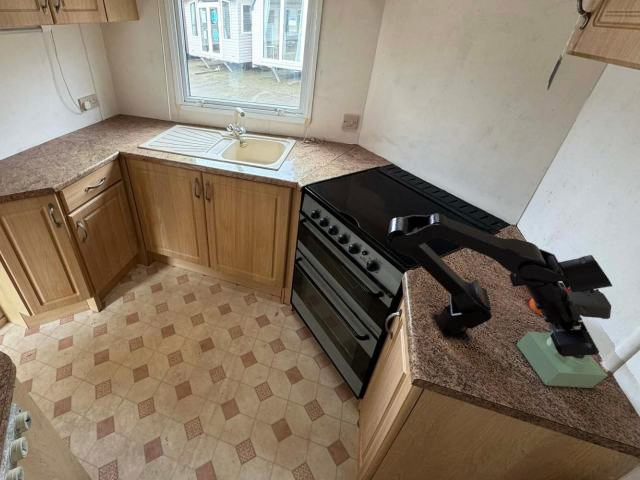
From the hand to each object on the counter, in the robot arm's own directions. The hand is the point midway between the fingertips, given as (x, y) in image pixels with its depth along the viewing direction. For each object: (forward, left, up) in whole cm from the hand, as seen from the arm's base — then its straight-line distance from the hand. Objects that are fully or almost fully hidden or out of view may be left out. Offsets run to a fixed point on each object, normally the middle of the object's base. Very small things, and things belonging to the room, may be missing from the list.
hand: (577, 342), depth 71 cm
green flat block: (0, 0, -10) cm, 10 cm away
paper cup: (+10, +17, -10) cm, 22 cm away
